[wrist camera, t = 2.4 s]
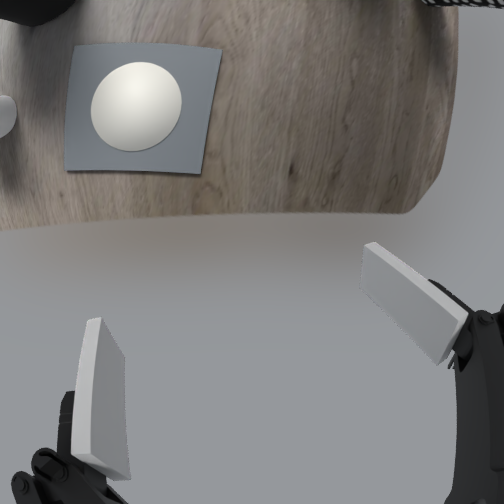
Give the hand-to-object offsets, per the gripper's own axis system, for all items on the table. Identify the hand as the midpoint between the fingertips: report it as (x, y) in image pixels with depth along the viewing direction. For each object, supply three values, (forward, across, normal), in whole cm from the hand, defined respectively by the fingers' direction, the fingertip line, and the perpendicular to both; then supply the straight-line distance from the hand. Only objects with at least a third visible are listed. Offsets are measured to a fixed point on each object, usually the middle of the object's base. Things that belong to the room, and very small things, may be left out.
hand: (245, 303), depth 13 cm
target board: (+25, -5, +11) cm, 28 cm away
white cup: (+26, -24, +17) cm, 39 cm away
